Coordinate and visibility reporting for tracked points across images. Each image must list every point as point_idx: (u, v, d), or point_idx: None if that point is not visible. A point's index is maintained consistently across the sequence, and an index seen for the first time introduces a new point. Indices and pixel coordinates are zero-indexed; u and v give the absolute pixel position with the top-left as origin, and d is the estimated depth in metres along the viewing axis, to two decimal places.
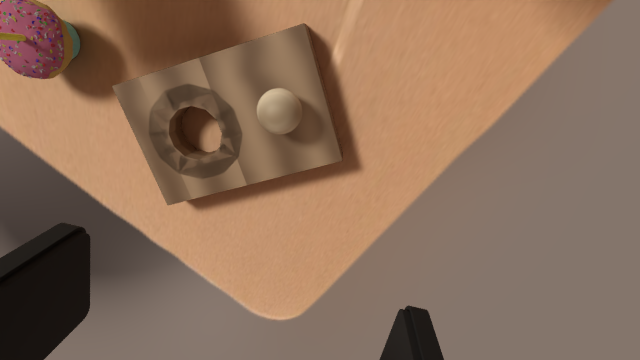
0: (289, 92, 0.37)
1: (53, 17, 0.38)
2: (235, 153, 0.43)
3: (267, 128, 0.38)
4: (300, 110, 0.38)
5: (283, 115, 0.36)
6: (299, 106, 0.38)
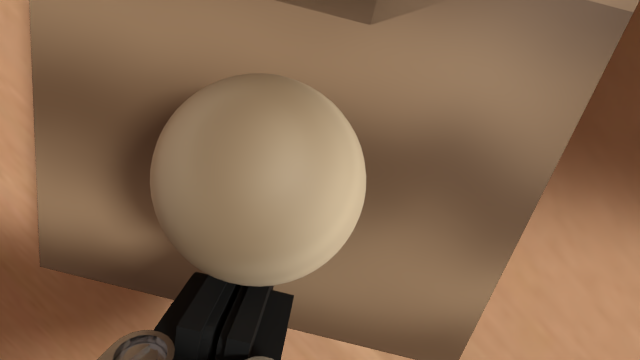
0: (311, 269, 0.08)
1: None
2: None
3: (221, 81, 0.07)
4: (208, 272, 0.07)
5: (220, 185, 0.06)
6: (226, 279, 0.07)
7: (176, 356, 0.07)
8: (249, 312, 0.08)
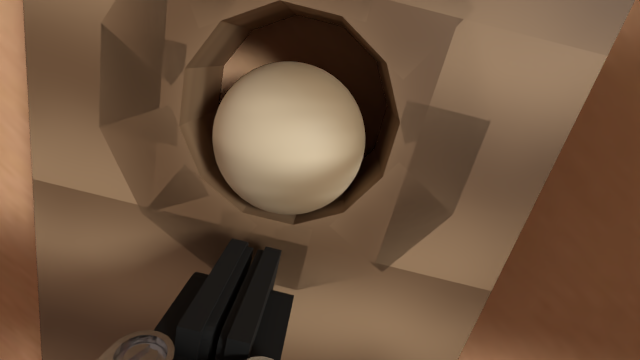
0: None
1: None
2: (158, 208, 0.12)
3: (282, 207, 0.11)
4: None
5: None
6: None
7: (176, 356, 0.07)
8: (249, 312, 0.08)
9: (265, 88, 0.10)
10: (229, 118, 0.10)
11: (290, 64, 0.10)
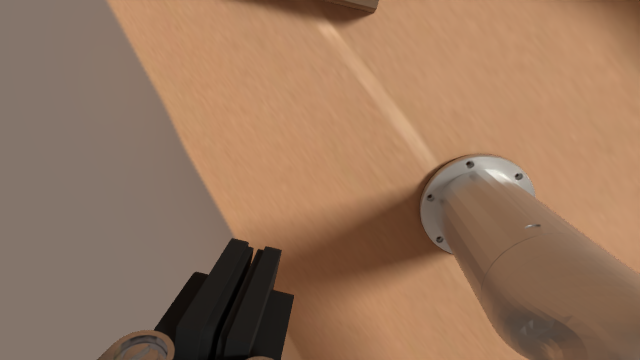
0: None
1: None
2: None
3: None
4: None
5: None
6: None
7: (176, 356, 0.07)
8: (249, 312, 0.08)
9: None
10: None
11: None
